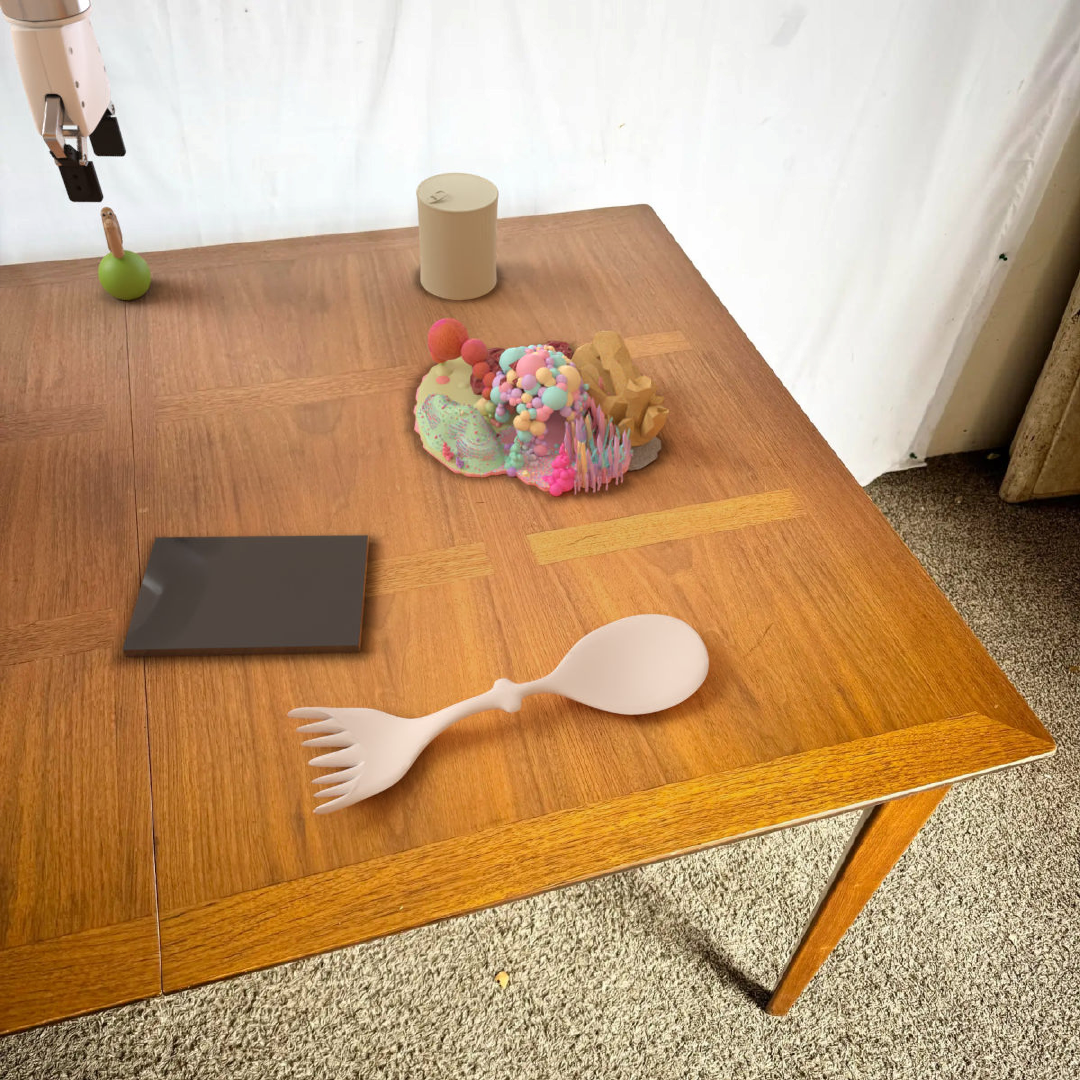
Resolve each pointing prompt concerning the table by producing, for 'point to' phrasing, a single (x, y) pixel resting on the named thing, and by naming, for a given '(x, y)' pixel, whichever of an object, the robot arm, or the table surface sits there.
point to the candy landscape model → (537, 410)
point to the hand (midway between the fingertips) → (99, 177)
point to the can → (457, 235)
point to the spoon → (514, 702)
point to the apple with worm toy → (121, 264)
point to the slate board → (250, 596)
